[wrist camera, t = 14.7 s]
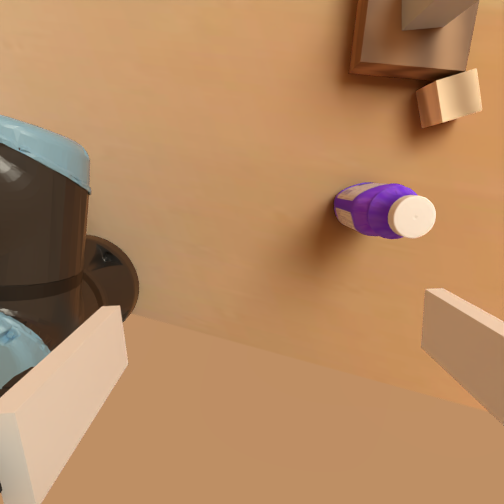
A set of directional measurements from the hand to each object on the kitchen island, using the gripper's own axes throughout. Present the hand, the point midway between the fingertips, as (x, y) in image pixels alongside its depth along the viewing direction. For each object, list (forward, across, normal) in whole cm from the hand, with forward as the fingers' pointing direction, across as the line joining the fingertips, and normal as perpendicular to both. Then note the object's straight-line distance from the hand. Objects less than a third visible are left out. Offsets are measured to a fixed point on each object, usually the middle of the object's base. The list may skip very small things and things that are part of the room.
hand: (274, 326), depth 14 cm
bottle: (+35, +15, +2) cm, 38 cm away
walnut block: (+35, +21, +25) cm, 48 cm away
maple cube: (+35, +26, +15) cm, 46 cm away
